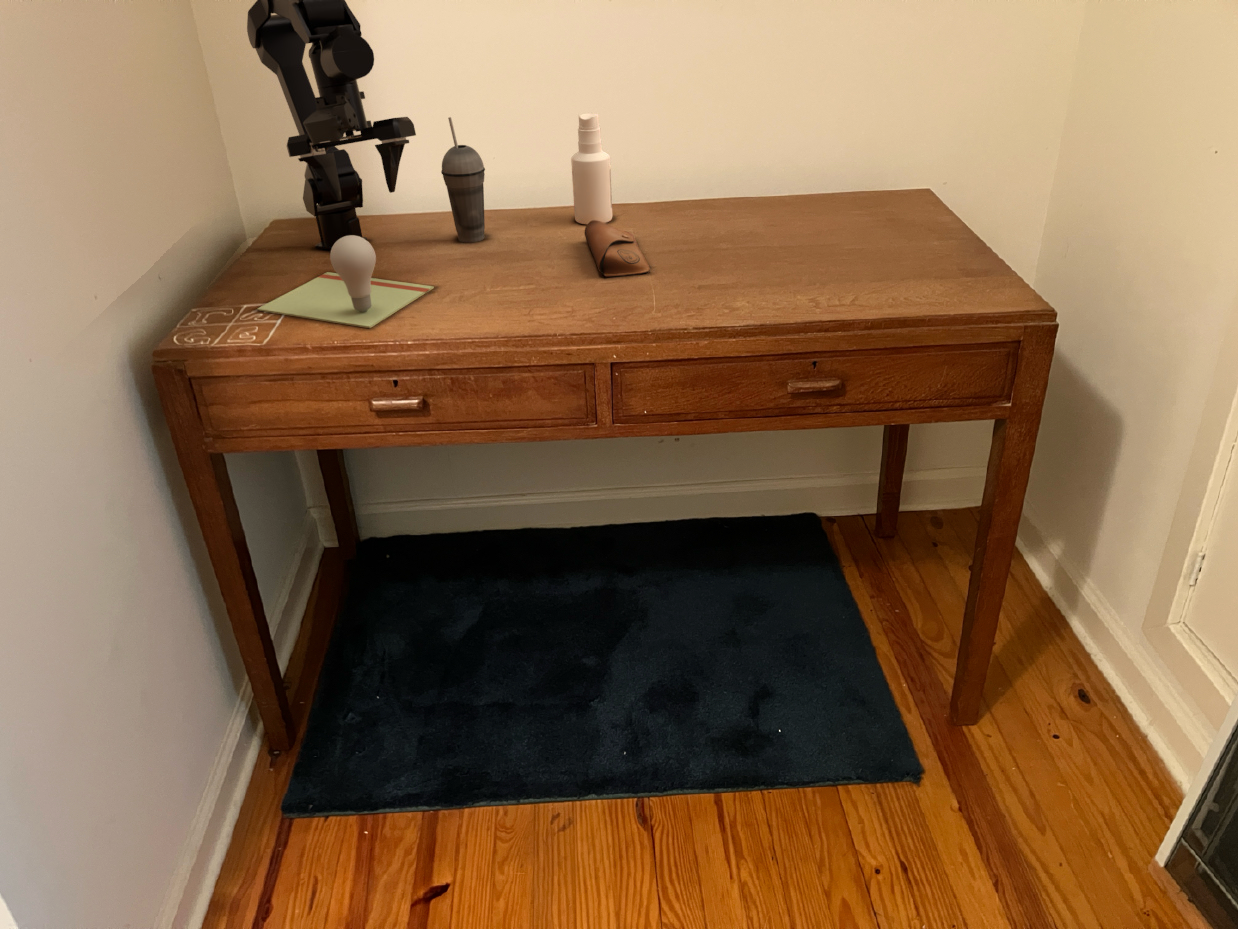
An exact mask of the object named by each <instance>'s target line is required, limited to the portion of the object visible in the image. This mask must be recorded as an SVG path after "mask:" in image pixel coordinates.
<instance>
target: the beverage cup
mask: <svg viewBox="0 0 1238 929" xmlns="http://www.w3.org/2000/svg"><path fill="white" fill-rule="evenodd" d="M448 123H449V127H450V131H451V135H452V139H453V144H454V146H452V147H450V148H449V149H448V150H447V151H446V152H445V153H444V156H443V158H442V161H441V175H442V178H443V181H444V185H445V186H446V190H447V195H448V199H449V204H450V208H451V214H452V218H453V222H454V227H455V232H456V235H457V239H458V241H459V242H461V243H476V242H480V241H483V240H484V239H485V238H486V237H485V228H486V226H485V225H486V224H485V223H486V222H485V221H486V220H485V194H484V192H485V191H484V188H485V187H484V182H485V176H486V175H485V171H486V169H485V165H484V162H483V160H482V157H481V155H480V154H479V153H478V152H477V150H476V149H475V148H473V147H471V146H469V145H466V144H458V141H457V137H456V132H455V128H454V124H453V120H452V117H451V116H449V117H448Z"/></svg>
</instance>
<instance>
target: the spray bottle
mask: <svg viewBox="0 0 1238 929" xmlns="http://www.w3.org/2000/svg"><path fill="white" fill-rule="evenodd" d="M601 134H602V132H601V126H600V116H599V114H598V113H593V112H587V113H586V112H585V113H580V114H578V128H577V137H578V138H577V139H578V142H577V146H578V147H577V148H578V151H577V152H576V153H574V154H573V155H572V156H571V158H570V162H571V178H572V179H571V181H572V194H573V210H574V213H573V214H574V220H575V222H576V223H578V224H582V225H587V224H588V223H589V222H590V221H592V220H596V221H601V222H604V223H609V222H611V221H612V219H613V194H612V192H613V191H612V168H611V156H610V154H609V153H607V152H605V151H604V150H603V143H602V135H601Z"/></svg>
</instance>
